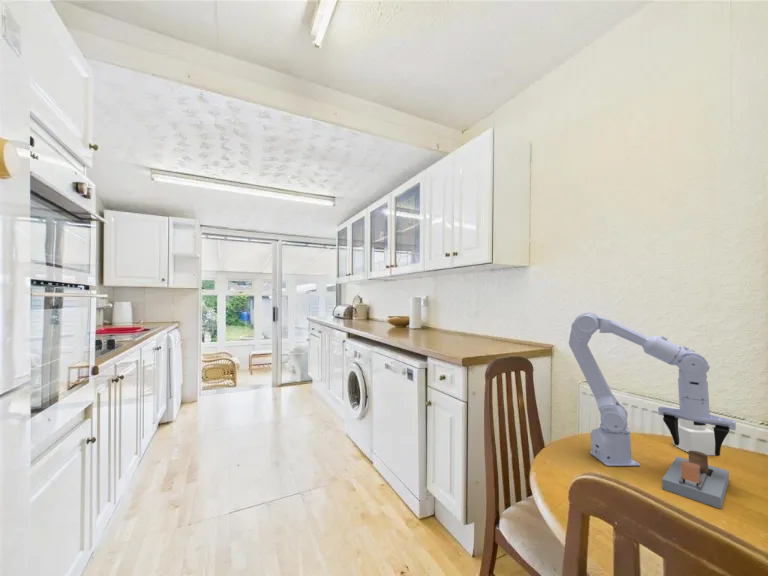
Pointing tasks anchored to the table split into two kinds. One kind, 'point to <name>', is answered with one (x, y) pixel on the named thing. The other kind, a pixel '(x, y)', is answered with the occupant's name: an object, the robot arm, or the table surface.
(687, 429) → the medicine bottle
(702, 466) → the brown wooden block
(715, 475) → the mount board
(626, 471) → the table surface
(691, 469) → the bar
